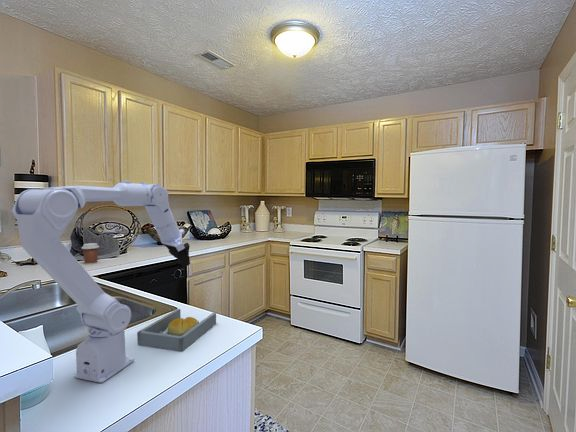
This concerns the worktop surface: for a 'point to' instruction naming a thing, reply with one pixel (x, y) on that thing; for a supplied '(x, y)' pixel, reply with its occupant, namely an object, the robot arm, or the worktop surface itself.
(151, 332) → the open-side box
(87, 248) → the coffee cup
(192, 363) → the worktop surface
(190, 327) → the bread roll
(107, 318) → the robot arm
